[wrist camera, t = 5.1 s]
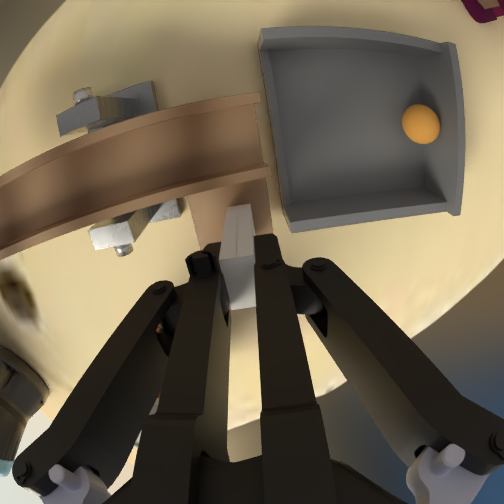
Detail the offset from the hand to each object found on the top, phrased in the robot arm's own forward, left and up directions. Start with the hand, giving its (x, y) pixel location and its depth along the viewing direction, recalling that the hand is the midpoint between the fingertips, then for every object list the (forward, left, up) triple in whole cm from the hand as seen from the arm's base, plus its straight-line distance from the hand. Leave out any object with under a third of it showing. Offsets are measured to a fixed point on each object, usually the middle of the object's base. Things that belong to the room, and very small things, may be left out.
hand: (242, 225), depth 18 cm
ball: (+15, +5, -2) cm, 16 cm away
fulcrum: (-8, +5, -5) cm, 11 cm away
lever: (-10, +2, +1) cm, 10 cm away
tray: (+10, +5, -5) cm, 12 cm away
